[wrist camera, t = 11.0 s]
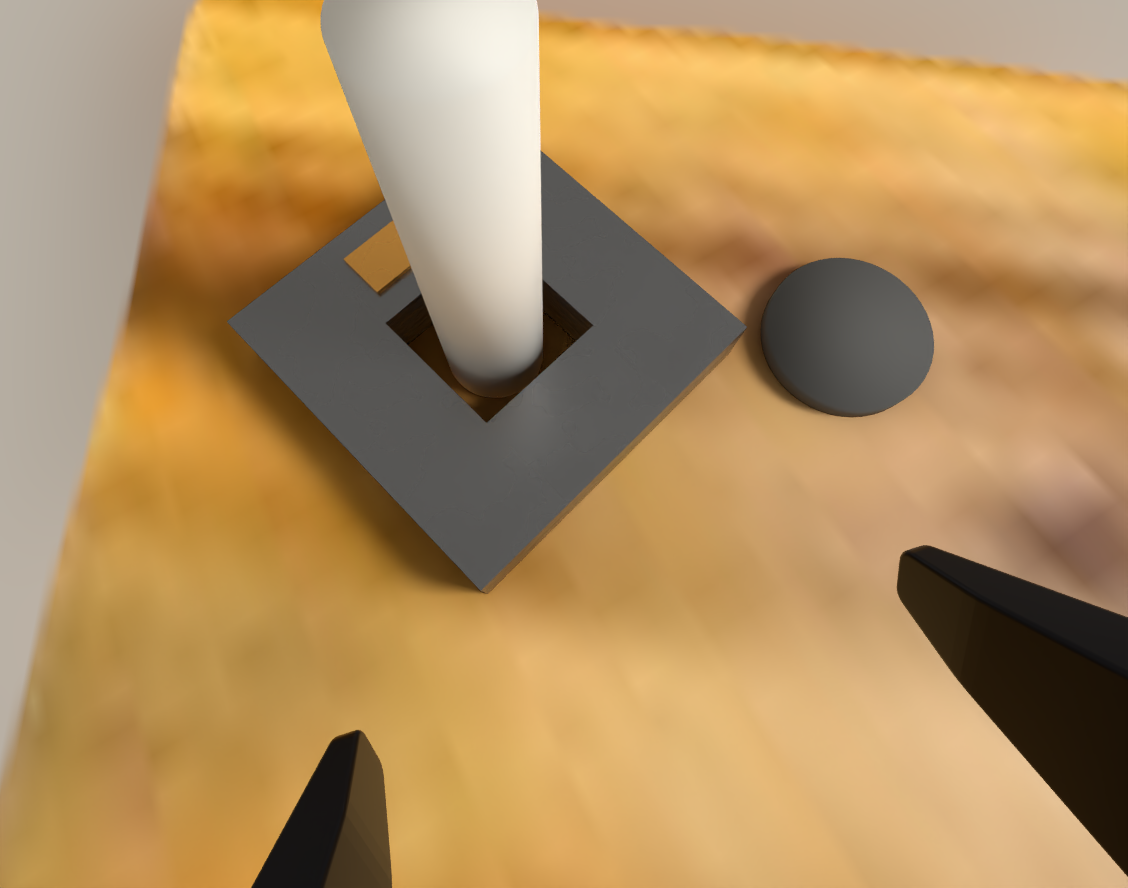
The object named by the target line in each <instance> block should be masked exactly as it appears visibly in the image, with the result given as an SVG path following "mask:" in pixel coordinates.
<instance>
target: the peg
mask: <svg viewBox="0 0 1128 888" xmlns="http://www.w3.org/2000/svg"><path fill="white" fill-rule="evenodd" d="M321 30H322V36H323V40H324V42H325V45H326V48H327V50H328V53H329V55H330V58H331V61H332V63H333V66H334V68H335V71H336V74H337V76H338V79H339V81H340V84H341V87H342V89H343V92H344V94H345V97H346V99H347V102H348V105H349V107H350V110H351V112H352V115H353V118H354V120H355V123H356V125H357V128H358V131H359V133H360V136H361V138H362V141H363V144H364V146H365V149H366V151H367V154H368V156H369V159H370V162H371V164H372V167H373V169H374V172H375V175H376V177H377V180H378V182H379V185H380V188H381V190H382V193H383V195H384V198H385V201H386V203H387V206H388V208H389V211H390V213H391V216H392V219H393V221H394V224H395V226H396V229H397V232H398V234H399V237H400V239H401V242H402V245H403V247H404V250H405V252H406V255H407V258H408V260H409V263H410V265H411V268H412V271H413V273H414V276H415V278H416V281H417V283H418V286H419V289H420V291H421V294H422V296H423V299H424V302H425V304H426V307H427V309H428V312H429V315H430V317H431V320H432V322H433V325H434V328H435V330H436V333H437V335H438V338H439V340H440V343H441V346H442V348H443V351H444V353H445V356H446V359H447V361H448V364H449V366H450V369H451V372H452V373H453V375H454V377H455V378H456V380H457V381H458V382H459V383H460V384H461V385H462V386H463V387H464V388H465V389H467V390H468V391H470V392H472V393H474V394H476V395H479V396H483V397H489V398H501V397H506V396H510V395H513V394H516V393H518V392H520V391H521V390H523V389H524V388H526V387H527V386H528V385H529V384H530V383H531V382H532V381H533V380H534V379H535V377H536V376H537V374H538V372H539V370H540V368H541V365H542V361H543V300H542V229H541V158H540V87H539V15H538V7H537V1H536V0H324V2H323V5H322V12H321Z"/></svg>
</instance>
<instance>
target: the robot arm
mask: <svg viewBox="0 0 1128 888" xmlns="http://www.w3.org/2000/svg"><path fill="white" fill-rule="evenodd" d="M897 592H898V595H899V598H900V600H901V602H902V603H903V605H904V606H905V607H906V609H907V610H908V612H909V613H910V614H911V616H912V617H913V619H914V620H915V621H916V623H917V624H918V626H919V627H920V628H921V630H922V631H923V633H924V634H925V635H926V637H927V638H928V640H929V641H930V642H931V644H932V645H933V647H934V648H935V649H936V651H937V652H938V654H939V655H940V657H941V658H942V659H943V661H944V662H945V664H946V665H947V666H948V668H949V669H950V670H951V672H952V673H953V674H954V676H955V677H956V678H957V680H958V681H959V682H960V683H961V685H962V686H963V687H964V688H965V689H966V691H967V692H968V693H969V694H970V695H971V697H972V698H973V699H974V700H975V701H976V702H977V703H978V705H979V706H980V707H981V708H982V709H983V710H984V712H985V713H986V714H987V715H988V716H989V717H990V718H991V720H992V721H993V722H994V723H995V724H996V725H997V727H998V728H999V729H1000V730H1001V731H1002V732H1003V733H1004V735H1005V736H1006V737H1007V738H1008V739H1009V740H1010V742H1011V743H1012V744H1013V745H1014V746H1015V747H1016V748H1017V750H1018V751H1019V752H1020V753H1021V754H1022V755H1023V757H1024V758H1025V759H1026V760H1027V761H1028V762H1029V763H1030V765H1031V766H1032V767H1033V768H1034V769H1035V770H1036V772H1037V773H1038V774H1039V775H1040V776H1041V777H1042V778H1043V780H1044V781H1045V782H1046V783H1047V784H1048V785H1049V787H1050V788H1051V789H1052V790H1053V791H1054V792H1055V793H1056V795H1057V796H1058V797H1059V798H1060V799H1061V800H1062V801H1063V803H1064V804H1065V805H1066V806H1067V807H1068V808H1069V810H1070V811H1071V812H1072V813H1073V814H1074V815H1075V816H1076V818H1077V819H1078V820H1079V821H1080V822H1081V823H1082V825H1083V826H1084V827H1085V828H1086V829H1087V830H1088V831H1089V833H1090V834H1091V835H1092V836H1093V837H1094V838H1095V840H1096V841H1097V842H1098V843H1099V844H1100V845H1101V846H1102V848H1103V849H1104V850H1105V851H1106V852H1107V853H1108V855H1109V856H1110V857H1111V858H1112V859H1113V860H1114V861H1115V863H1116V864H1117V865H1118V866H1119V867H1120V868H1121V870H1122V871H1123V872H1124V873H1125V874H1126V875H1127V876H1128V617H1125V616H1123V615H1120V614H1117V613H1114V612H1112V611H1109V610H1106V609H1103V608H1101V607H1098V606H1095V605H1092V604H1090V603H1087V602H1084V601H1081V600H1078V599H1076V598H1073V597H1070V596H1067V595H1065V594H1062V593H1059V592H1056V591H1054V590H1051V589H1048V588H1045V587H1043V586H1040V585H1037V584H1034V583H1032V582H1029V581H1026V580H1023V579H1021V578H1018V577H1015V576H1012V575H1009V574H1007V573H1004V572H1001V571H998V570H996V569H993V568H990V567H987V566H985V565H982V564H979V563H976V562H974V561H971V560H968V559H965V558H963V557H960V556H957V555H954V554H952V553H949V552H946V551H943V550H940V549H938V548H935V547H932V546H927V545H923V546H919V547H916V548H913V549H910V550H907V551H905V552H903V553H902V555H901V556H900V562H899V571H898V580H897ZM251 888H392V874H391V860H390V847H389V835H388V823H387V810H386V798H385V786H384V774H383V769H382V765H381V762H380V760H379V758H378V756H377V755H376V753H375V751H374V749H373V748H372V746H371V744H370V742H369V741H368V739H367V737H366V735H365V734H364V733H363V732H362V731H361V730H355V731H352V732H349V733H346V734H343V735H340V736H337V737H335V738H334V739H333V740H332V741H331V742H330V744H329V746H328V747H327V749H326V751H325V753H324V755H323V757H322V759H321V760H320V762H319V764H318V766H317V768H316V770H315V771H314V773H313V775H312V777H311V779H310V781H309V782H308V784H307V786H306V788H305V790H304V792H303V793H302V795H301V797H300V799H299V801H298V803H297V804H296V806H295V808H294V810H293V812H292V814H291V816H290V817H289V819H288V821H287V823H286V825H285V827H284V828H283V830H282V832H281V834H280V836H279V838H278V839H277V841H276V843H275V845H274V847H273V849H272V850H271V852H270V854H269V856H268V858H267V860H266V861H265V863H264V865H263V867H262V869H261V871H260V872H259V874H258V876H257V878H256V880H255V882H254V884H253V885H252V887H251Z"/></svg>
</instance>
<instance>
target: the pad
mask: <svg viewBox="0 0 1128 888" xmlns="http://www.w3.org/2000/svg"><path fill="white" fill-rule="evenodd" d="M761 342H762V348H763V352H764V355H765V358H766V360H767V363H768V365H769V367H770V369H771V370H772V372H773V374H774V375H775V377H776V378H777V379H778V381H779V382H780V383H781V384H782V385H783V386H784V387H785V388H786V389H787V390H788V391H789V392H790V393H791V394H792V395H793V396H795V397H796V398H797V399H799V400H800V401H802V402H803V403H805V404H807V405H808V406H810V407H812V408H815V409H817V410H819V411H822V412H825V413H828V414H832V415H837V416H844V417H862V416H868V415H873V414H876V413H879V412H882V411H885V410H886V409H888V408H890V407H892V406H894V405H896V404H897V403H899V402H901V401H902V400H904V399H905V398H906V397H908V396H909V395H911V394H912V393H913V392H914V391H915V390H916V389H917V388H918V387H919V386H920V384H921V383H922V382H923V380H924V379H925V377H926V375H927V373H928V371H929V369H930V366H931V363H932V358H933V353H934V339H933V331H932V327H931V323H930V321H929V318H928V316H927V313H926V311H925V309H924V308H923V306H922V304H921V302H920V301H919V300H918V298H917V297H916V295H915V294H914V293H913V292H912V291H911V290H910V289H909V288H908V287H907V286H906V285H905V284H904V283H903V282H902V281H901V280H899V279H898V278H897V277H895V276H894V275H892V274H891V273H889V272H887V271H886V270H884V269H882V268H880V267H878V266H875V265H873V264H870V263H867V262H864V261H860V260H855V259H848V258H829V259H823V260H818V261H815V262H811V263H809V264H807V265H804V266H802V267H800V268H799V269H797V270H795V271H794V272H792V273H791V274H790V275H789V276H788V277H787V278H785V280H784V281H783V282H782V283H781V284H780V285H779V287H778V288H777V290H776V291H775V292H774V294H773V295H772V297H771V299H770V300H769V302H768V304H767V306H766V308H765V310H764V314H763V317H762V322H761Z"/></svg>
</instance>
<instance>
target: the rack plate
mask: <svg viewBox="0 0 1128 888" xmlns="http://www.w3.org/2000/svg"><path fill="white" fill-rule="evenodd" d="M540 158H541V229H542V300H543V311H544V312H545V313H547V314H548V315H549V316H550V317H551V318H552V319H553V320H554V321H555V322H556V323H557V324H558V325H560V326H561V327H562V328H563V329H564V330H565V331H566V332H567V333H568V334H569V335H570V336H572V337H573V338H574V339H575V340H576V342H575V343H574V344H573V345H571V346H570V347H569V348H568V349H567V350H566V351H565V352H564V353H563V354H562V355H561V356H559V357H558V358H557V359H556V360H555V361H554V362H553V363H552V364H551V365H550V366H549V367H547V368H546V369H545V370H544V371H543V372H542V373H541V374H540V375H539V376H538V377H536V378H535V379H534V380H533V381H532V382H531V383H530V384H529V385H528V386H527V387H526V388H524V389H523V390H522V391H521V392H520V393H519V394H518V395H517V396H516V397H515V398H513V399H512V400H511V401H510V402H509V403H508V404H507V405H506V406H505V407H504V408H503V409H501V410H500V411H499V412H498V413H497V414H496V415H495V416H494V417H493V418H492V419H491V420H489V421H488V422H487V423H486V422H485V421H484V420H483V419H482V418H481V417H480V416H479V415H478V414H477V413H476V412H475V411H474V410H473V409H472V408H471V407H470V406H469V405H468V404H467V403H466V402H465V401H464V400H463V399H462V398H461V397H460V396H459V395H458V394H457V393H455V392H454V391H453V390H452V389H451V388H450V387H449V386H448V385H447V384H446V383H445V382H444V381H443V380H442V379H441V378H440V377H439V376H438V375H437V374H436V373H435V372H434V371H433V370H432V369H431V368H430V367H429V366H428V365H427V364H426V363H425V362H424V361H423V360H422V359H421V358H420V357H419V356H418V355H417V354H416V353H415V352H414V351H413V350H412V349H411V348H410V347H409V346H408V344H409V343H410V342H412V341H413V340H414V339H415V338H416V337H418V336H419V335H420V334H421V333H422V332H423V331H425V330H426V329H427V328H428V327H429V326H431V325H432V324H433V322H432V320H431V317H430V315H429V312H428V309H427V307H426V304H425V302H424V299H423V296H422V294H421V291H420V289H419V286H418V283H417V281H416V278H415V276H414V273H413V271H412V268H411V265H410V263H409V260H408V258H407V255H406V252H405V250H404V247H403V245H402V242H401V239H400V237H399V234H398V232H397V229H396V226H395V224H394V221H393V219H392V216H391V213H390V211H389V208H388V206H387V203H386V201H385V200H384V201H383V202H381V203H380V204H379V205H377V206H376V207H375V208H373V209H372V210H371V211H370V212H368V213H367V214H366V215H364V216H363V217H362V218H361V219H359V220H358V221H357V222H355V223H354V224H353V225H351V226H350V227H349V228H348V229H346V230H345V231H344V232H342V233H341V234H340V235H338V236H337V237H336V238H335V239H333V240H332V241H331V242H329V243H328V244H327V245H325V246H324V247H323V248H322V249H320V250H319V251H318V252H316V253H315V254H314V255H312V256H311V257H310V258H309V259H307V260H306V261H305V262H303V263H302V264H301V265H299V266H298V267H297V268H296V269H294V270H293V271H292V272H290V273H289V274H288V275H286V276H285V277H284V278H283V279H281V280H280V281H279V282H277V283H276V284H275V285H273V286H272V287H271V288H270V289H268V290H267V291H266V292H264V293H263V294H262V295H261V296H259V297H258V298H257V299H255V300H254V301H253V302H251V303H250V304H249V305H248V306H246V307H245V308H244V309H242V310H241V311H240V312H238V313H237V314H236V315H235V316H233V317H232V318H231V319H229V320H228V321H227V322H228V324H229V325H230V326H231V327H232V328H233V329H234V330H235V331H236V332H237V333H238V334H239V335H240V336H241V337H242V338H243V339H244V340H245V342H246V343H247V344H248V345H249V346H250V347H251V348H252V349H253V350H254V351H255V352H256V353H257V354H258V355H259V356H260V357H261V359H262V360H263V361H264V362H265V363H266V364H267V365H268V366H269V367H270V368H271V369H272V370H273V371H274V372H275V373H276V374H277V375H278V377H279V378H280V379H281V380H282V381H283V382H284V383H285V384H286V385H287V386H288V387H289V388H290V389H291V390H292V391H293V392H294V393H295V395H296V396H297V397H298V398H299V399H300V400H301V401H302V402H303V403H304V404H305V405H306V406H307V407H308V408H309V409H310V410H311V412H312V413H313V414H314V415H315V416H316V417H317V418H318V419H319V420H320V421H321V422H322V423H323V424H324V425H325V426H326V427H327V428H328V430H329V431H330V432H331V433H332V434H333V435H334V436H335V437H336V438H337V439H338V440H339V441H340V442H341V443H342V444H343V445H344V446H345V448H346V449H347V450H348V451H349V452H350V453H351V454H352V455H353V456H354V457H355V458H356V459H357V460H358V461H359V462H360V463H361V464H362V466H363V467H364V468H365V469H366V470H367V471H368V472H369V473H370V474H371V475H372V476H373V477H374V478H375V479H376V480H377V481H378V483H379V484H380V485H381V486H382V487H383V488H384V489H385V490H386V491H387V492H388V493H389V494H390V495H391V496H392V497H393V498H394V499H395V501H396V502H397V503H398V504H399V505H400V506H401V507H402V508H403V509H404V510H405V511H406V512H407V513H408V514H409V515H410V516H411V517H412V519H413V520H414V521H415V522H416V523H417V524H418V525H419V526H420V527H421V528H422V529H423V530H424V531H425V532H426V533H427V534H428V536H429V537H430V538H431V539H432V540H433V541H434V542H435V543H436V544H437V545H438V546H439V547H440V548H441V549H442V550H443V551H444V552H445V554H446V555H447V556H448V557H449V558H450V559H451V560H452V561H453V562H454V563H455V564H456V565H457V566H458V567H459V568H460V569H461V570H462V572H463V573H464V574H465V575H466V576H467V577H468V578H469V579H470V580H471V581H472V582H473V583H474V584H475V585H476V586H477V587H478V588H479V590H480V591H482V592H484V593H487V594H488V593H489V592H490V591H491V590H492V589H493V588H494V587H495V586H496V585H497V584H498V583H499V582H500V581H501V580H502V579H503V578H504V577H505V576H506V575H507V574H508V573H509V572H510V571H511V570H512V569H513V568H514V567H515V566H516V565H517V564H518V563H519V562H520V561H521V560H522V559H523V558H524V557H525V556H526V555H527V554H528V553H529V552H530V551H531V550H532V549H533V548H534V547H535V546H536V545H537V544H538V543H539V542H540V541H541V540H542V539H543V538H544V537H545V536H546V535H547V534H548V533H549V532H550V531H551V530H552V529H553V528H554V527H555V526H556V525H557V524H558V523H559V522H560V521H561V520H562V519H563V518H564V517H565V516H566V515H567V514H568V513H569V512H570V511H571V510H572V509H573V508H574V507H575V506H576V505H577V504H578V503H579V502H580V501H581V500H582V499H583V498H584V497H585V496H586V495H587V494H588V493H589V492H591V491H592V490H593V489H594V488H595V487H596V486H597V485H598V484H599V483H600V482H601V481H602V480H603V479H604V478H605V477H606V476H607V475H608V474H609V473H610V472H611V471H612V470H613V469H614V468H615V467H616V466H617V465H618V464H619V463H620V462H621V461H622V460H623V459H624V458H625V457H626V456H627V455H628V454H629V453H630V452H631V451H632V450H633V449H634V448H635V447H636V446H637V445H638V444H639V443H640V442H641V441H642V440H643V439H644V438H645V437H646V436H647V435H648V434H649V433H650V432H651V431H652V430H653V429H654V428H655V427H656V426H657V425H658V424H659V423H660V422H661V421H662V420H663V419H664V418H665V417H666V416H667V415H668V414H669V413H670V412H671V411H672V410H673V409H674V408H675V407H676V406H677V405H678V404H679V403H680V402H681V401H682V400H683V399H684V398H685V397H686V396H687V395H688V394H689V393H690V392H691V391H692V390H693V389H694V388H695V387H696V386H697V385H698V384H699V383H700V382H701V381H702V380H703V379H704V378H705V377H706V376H707V375H708V374H709V373H710V372H711V371H712V370H713V369H714V368H715V367H716V366H717V365H718V364H719V363H720V362H721V361H722V360H723V359H724V358H725V357H726V356H727V355H728V354H729V353H730V351H731V350H732V348H733V347H734V345H735V344H736V343H737V341H738V340H739V338H740V337H741V335H742V334H743V332H744V331H745V329H746V328H747V326H745V325H744V324H743V323H742V322H741V321H740V320H738V319H737V318H736V317H735V316H734V315H733V314H731V313H730V312H729V311H728V310H727V309H726V308H724V307H723V306H722V305H721V304H720V303H719V302H717V301H716V300H715V299H714V298H713V297H712V296H710V295H709V294H708V293H707V292H706V291H704V290H703V289H702V288H701V287H700V286H699V285H697V284H696V283H695V282H694V281H693V280H692V279H690V278H689V277H688V276H687V275H686V274H685V273H683V272H682V271H681V270H680V269H679V268H678V267H676V266H675V265H674V264H673V263H672V262H671V261H669V260H668V259H667V258H666V257H665V256H664V255H662V254H661V253H660V252H659V251H658V250H656V249H655V248H654V247H653V246H652V245H651V244H649V243H648V242H647V241H646V240H645V239H644V238H642V237H641V236H640V235H639V234H638V233H637V232H635V231H634V230H633V229H632V228H631V227H630V226H628V225H627V224H626V223H625V222H624V221H623V220H621V219H620V218H619V217H618V216H617V215H616V214H614V213H613V212H612V211H611V210H610V209H608V208H607V207H606V206H605V205H604V204H603V203H601V202H600V201H599V200H598V199H597V198H596V197H594V196H593V195H592V194H591V193H590V192H589V191H587V190H586V189H585V188H584V187H583V186H582V185H580V184H579V183H578V182H577V181H576V180H575V179H573V178H572V177H571V176H570V175H569V174H567V173H566V172H565V171H564V170H563V169H562V168H560V167H559V166H558V165H557V164H556V163H555V162H553V161H552V160H551V159H550V158H549V157H548V156H546V155H545V154H544V153H543V152H542V151H541V150H540Z"/></svg>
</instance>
